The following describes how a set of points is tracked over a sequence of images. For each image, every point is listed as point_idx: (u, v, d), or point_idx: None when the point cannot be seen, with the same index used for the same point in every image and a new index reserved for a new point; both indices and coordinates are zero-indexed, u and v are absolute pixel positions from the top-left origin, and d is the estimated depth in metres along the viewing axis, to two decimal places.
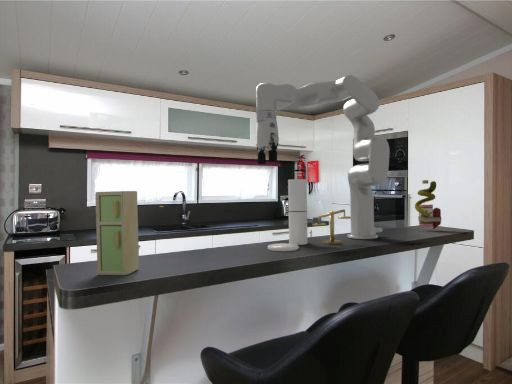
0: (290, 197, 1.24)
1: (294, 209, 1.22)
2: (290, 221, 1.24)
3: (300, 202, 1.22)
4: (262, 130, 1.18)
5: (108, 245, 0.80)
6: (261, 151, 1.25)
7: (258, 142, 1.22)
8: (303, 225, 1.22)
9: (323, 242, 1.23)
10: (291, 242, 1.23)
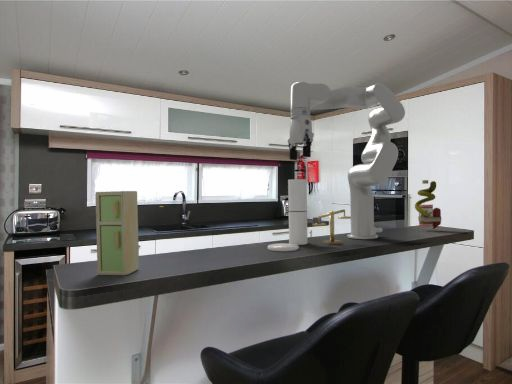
0: (290, 197, 1.24)
1: (294, 209, 1.22)
2: (290, 221, 1.24)
3: (300, 202, 1.22)
4: (296, 126, 1.23)
5: (108, 245, 0.80)
6: (293, 147, 1.30)
7: (291, 138, 1.27)
8: (303, 225, 1.22)
9: (323, 242, 1.23)
10: (291, 242, 1.23)
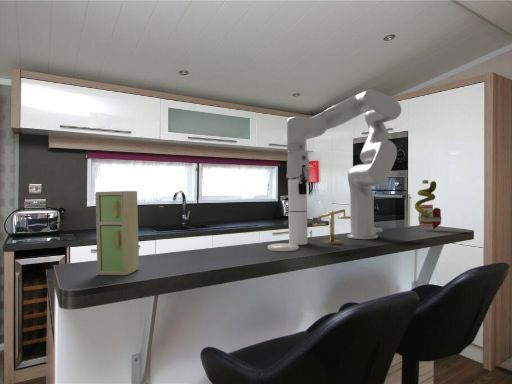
0: (290, 197, 1.24)
1: (294, 209, 1.22)
2: (290, 221, 1.24)
3: (300, 202, 1.22)
4: (293, 162, 1.23)
5: (108, 245, 0.80)
6: None
7: (288, 172, 1.27)
8: (303, 225, 1.22)
9: (323, 242, 1.23)
10: (291, 242, 1.23)
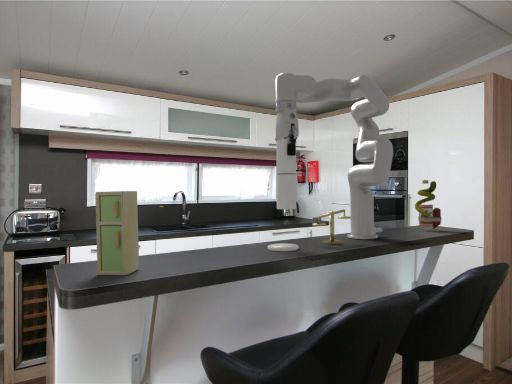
0: (278, 159, 1.16)
1: (282, 171, 1.14)
2: (278, 184, 1.16)
3: (288, 164, 1.14)
4: (282, 121, 1.15)
5: (108, 245, 0.80)
6: None
7: (277, 134, 1.19)
8: (291, 189, 1.14)
9: (323, 242, 1.23)
10: (278, 207, 1.15)
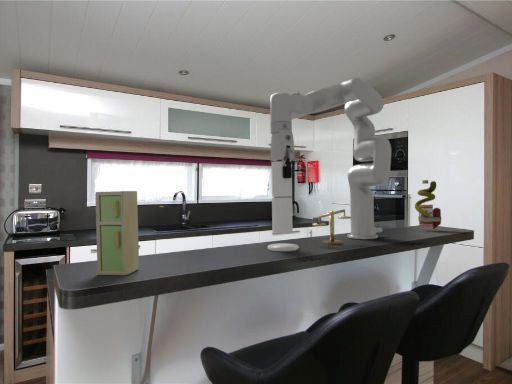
0: (273, 181, 1.12)
1: (277, 194, 1.11)
2: (273, 208, 1.12)
3: (284, 187, 1.10)
4: (277, 142, 1.12)
5: (108, 245, 0.80)
6: None
7: (272, 155, 1.16)
8: (287, 212, 1.11)
9: (323, 242, 1.23)
10: (274, 231, 1.12)
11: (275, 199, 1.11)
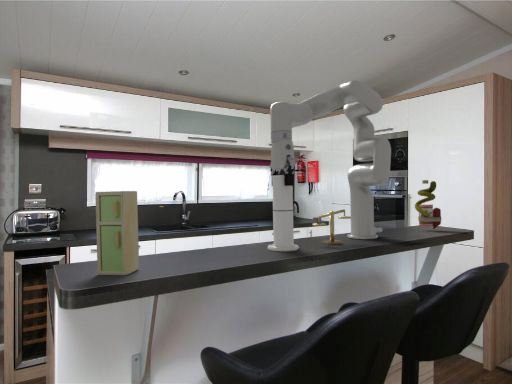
0: (274, 195, 1.12)
1: (278, 208, 1.11)
2: (274, 221, 1.12)
3: (285, 200, 1.11)
4: (277, 152, 1.12)
5: (108, 245, 0.80)
6: (275, 173, 1.19)
7: (272, 164, 1.16)
8: (288, 226, 1.11)
9: (323, 242, 1.23)
10: (275, 244, 1.12)
11: (276, 213, 1.12)
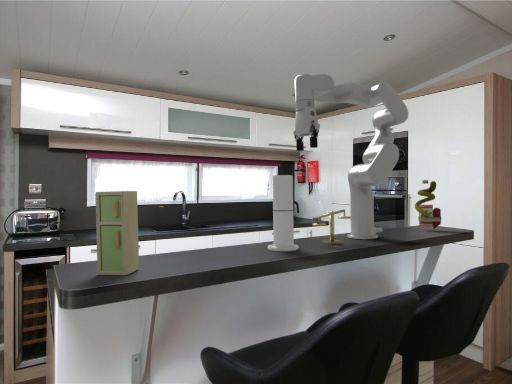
0: (274, 195, 1.12)
1: (279, 208, 1.11)
2: (274, 221, 1.12)
3: (285, 200, 1.11)
4: (302, 118, 1.26)
5: (108, 245, 0.80)
6: (299, 138, 1.33)
7: (297, 130, 1.30)
8: (288, 226, 1.11)
9: (323, 242, 1.23)
10: (275, 244, 1.12)
11: (276, 213, 1.12)
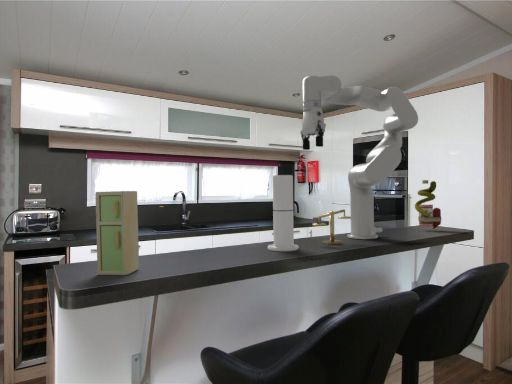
0: (274, 195, 1.12)
1: (279, 208, 1.11)
2: (274, 221, 1.12)
3: (285, 200, 1.11)
4: (309, 118, 1.31)
5: (108, 245, 0.80)
6: (306, 138, 1.38)
7: (304, 129, 1.35)
8: (288, 226, 1.11)
9: (323, 242, 1.23)
10: (275, 244, 1.12)
11: (276, 213, 1.12)
